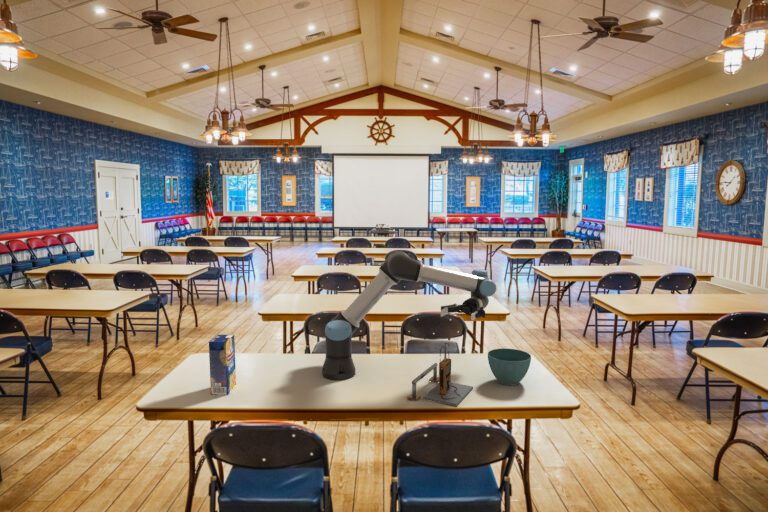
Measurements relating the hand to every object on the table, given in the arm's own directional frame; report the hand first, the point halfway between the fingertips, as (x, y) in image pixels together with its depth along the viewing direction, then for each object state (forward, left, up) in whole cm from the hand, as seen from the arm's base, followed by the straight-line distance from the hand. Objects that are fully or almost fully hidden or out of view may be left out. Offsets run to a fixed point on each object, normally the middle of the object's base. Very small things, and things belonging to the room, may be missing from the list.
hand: (456, 315), depth 210 cm
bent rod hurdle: (-9, -12, -30) cm, 33 cm away
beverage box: (-82, -52, -30) cm, 102 cm away
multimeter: (+4, -13, -29) cm, 32 cm away
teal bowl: (+20, +13, -30) cm, 38 cm away
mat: (+2, -12, -30) cm, 32 cm away
